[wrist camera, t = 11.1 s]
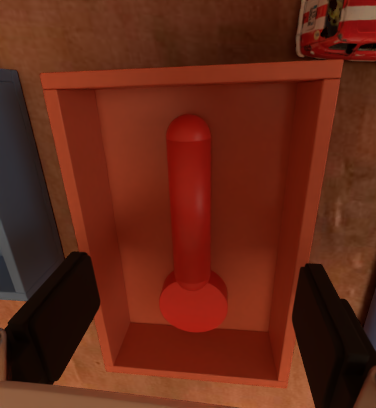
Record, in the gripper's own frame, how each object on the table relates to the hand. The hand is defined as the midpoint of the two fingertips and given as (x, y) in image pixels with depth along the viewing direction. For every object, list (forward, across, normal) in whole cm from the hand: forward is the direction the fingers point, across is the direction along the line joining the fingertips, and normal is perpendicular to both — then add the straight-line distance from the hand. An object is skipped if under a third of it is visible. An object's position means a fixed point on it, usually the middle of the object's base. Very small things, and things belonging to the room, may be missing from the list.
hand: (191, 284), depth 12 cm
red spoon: (+5, +1, 0) cm, 5 cm away
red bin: (+6, 0, 0) cm, 6 cm away
